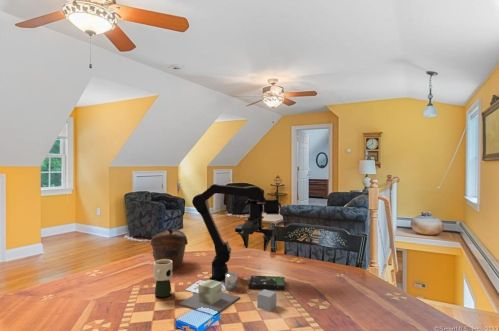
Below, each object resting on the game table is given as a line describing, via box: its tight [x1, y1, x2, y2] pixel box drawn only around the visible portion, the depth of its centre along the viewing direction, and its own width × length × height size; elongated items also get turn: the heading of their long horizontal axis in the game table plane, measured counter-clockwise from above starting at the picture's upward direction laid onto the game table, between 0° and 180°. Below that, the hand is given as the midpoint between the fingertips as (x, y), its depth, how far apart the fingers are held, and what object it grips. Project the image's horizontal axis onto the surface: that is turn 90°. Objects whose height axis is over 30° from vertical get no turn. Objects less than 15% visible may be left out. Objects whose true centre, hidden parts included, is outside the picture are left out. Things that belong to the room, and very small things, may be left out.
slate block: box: [256, 289, 277, 312], centre depth 112 cm, size 5×5×5 cm
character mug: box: [153, 259, 174, 298], centre depth 121 cm, size 11×7×13 cm, turn 174°
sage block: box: [198, 279, 223, 305], centre depth 116 cm, size 6×6×6 cm
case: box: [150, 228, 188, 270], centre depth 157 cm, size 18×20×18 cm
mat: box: [178, 291, 241, 313], centre depth 116 cm, size 16×16×1 cm
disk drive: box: [248, 275, 286, 292], centre depth 132 cm, size 10×3×15 cm
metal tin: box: [224, 271, 238, 292], centre depth 128 cm, size 5×5×6 cm
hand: (255, 249), depth 139 cm, fingers open, 9 cm apart
